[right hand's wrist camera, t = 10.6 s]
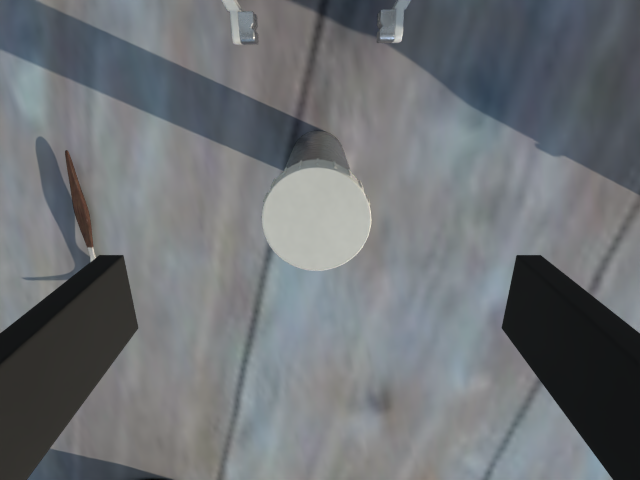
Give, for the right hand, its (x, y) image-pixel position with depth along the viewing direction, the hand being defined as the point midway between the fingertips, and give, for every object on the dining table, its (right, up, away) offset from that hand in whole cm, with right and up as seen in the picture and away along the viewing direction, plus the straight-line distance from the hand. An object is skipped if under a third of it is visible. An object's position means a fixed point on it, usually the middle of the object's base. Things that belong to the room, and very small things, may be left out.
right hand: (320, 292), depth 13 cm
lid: (0, +3, +7) cm, 7 cm away
